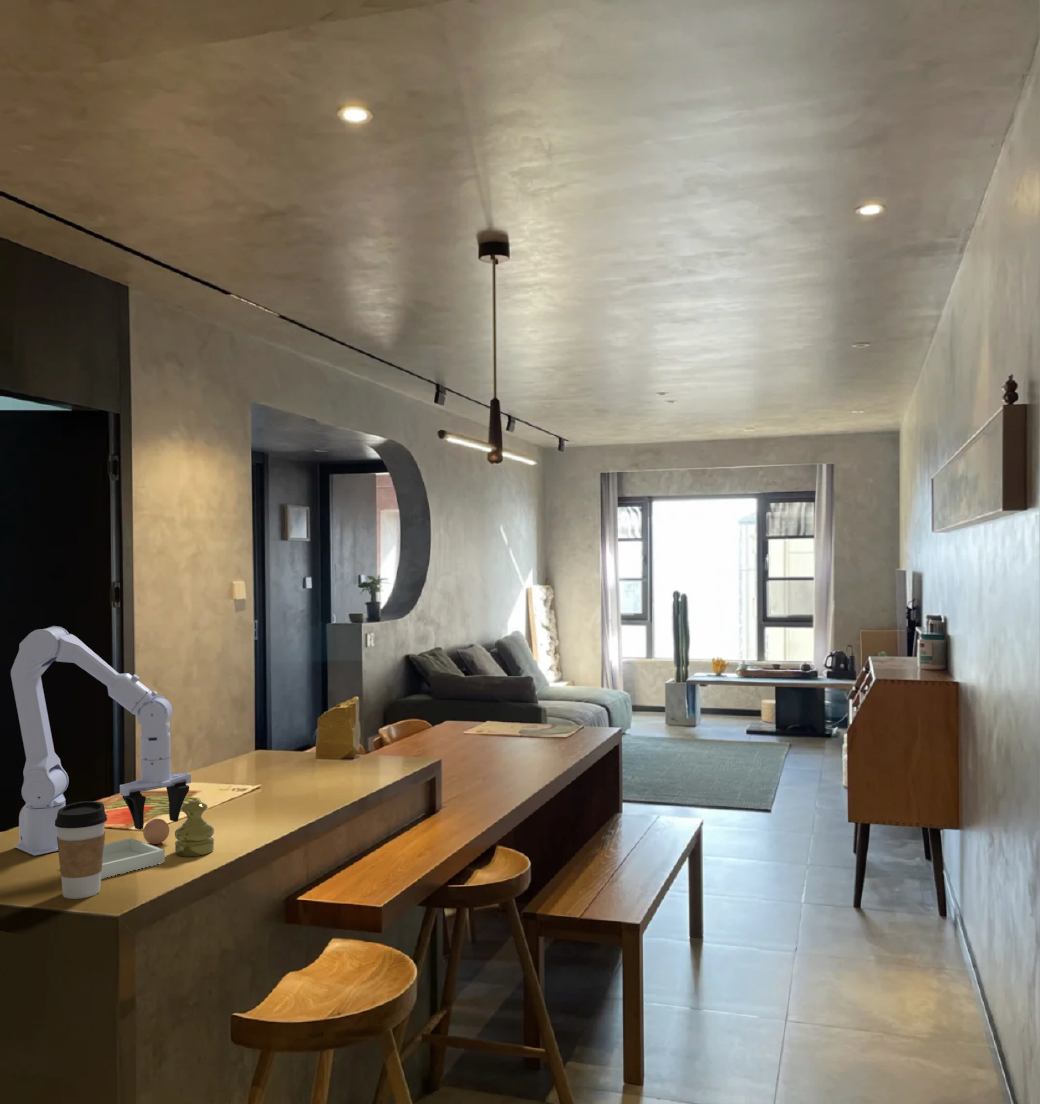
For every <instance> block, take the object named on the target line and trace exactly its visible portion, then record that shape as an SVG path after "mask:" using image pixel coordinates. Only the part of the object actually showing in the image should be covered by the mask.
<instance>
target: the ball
mask: <svg viewBox="0 0 1040 1104" xmlns="http://www.w3.org/2000/svg"><path fill="white" fill-rule="evenodd" d="M142 830H143V831H142V833H143V838H144V840H145V841H146V843H148V844H150V845H159V844H162V843H163V842H165V841H166V840H167V838H168V837H169V835H170V825H169V823H167V822H166V821H165V820H164V819H161V818H153V819H151V820H149V821H148V822H147V823H146V824H145V825H144V826H143V829H142Z"/></svg>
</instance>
